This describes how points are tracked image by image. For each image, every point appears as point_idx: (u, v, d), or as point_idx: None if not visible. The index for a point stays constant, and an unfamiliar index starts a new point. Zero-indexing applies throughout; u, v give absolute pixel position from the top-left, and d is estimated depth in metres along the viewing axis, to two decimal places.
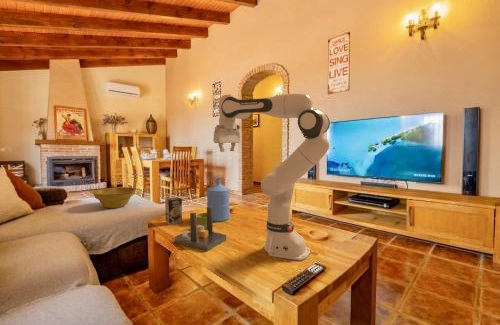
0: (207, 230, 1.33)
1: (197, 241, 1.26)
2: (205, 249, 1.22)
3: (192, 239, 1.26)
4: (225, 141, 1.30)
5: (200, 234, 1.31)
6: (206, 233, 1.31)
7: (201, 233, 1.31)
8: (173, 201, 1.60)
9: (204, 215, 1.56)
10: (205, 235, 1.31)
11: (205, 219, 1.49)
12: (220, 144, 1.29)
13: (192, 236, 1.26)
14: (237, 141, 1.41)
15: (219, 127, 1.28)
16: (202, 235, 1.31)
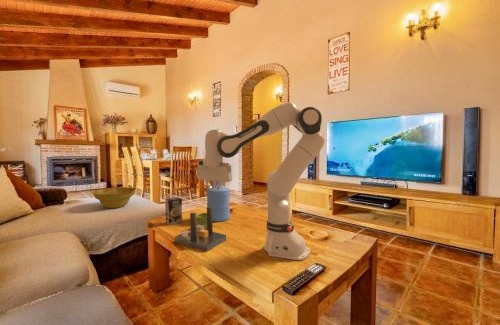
0: (207, 230, 1.33)
1: (197, 241, 1.26)
2: (205, 249, 1.22)
3: (192, 239, 1.26)
4: None
5: (200, 234, 1.31)
6: (206, 233, 1.31)
7: (201, 233, 1.31)
8: (173, 201, 1.60)
9: (204, 215, 1.56)
10: (205, 235, 1.31)
11: (205, 219, 1.49)
12: (222, 182, 1.24)
13: (192, 236, 1.26)
14: None
15: None
16: (202, 235, 1.31)
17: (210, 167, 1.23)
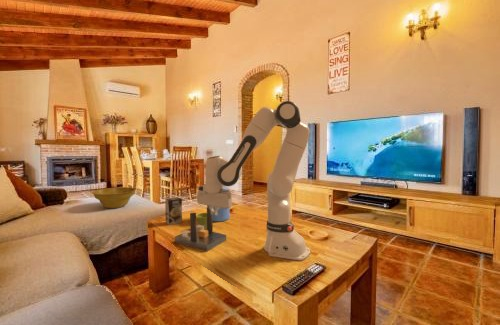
0: (207, 230, 1.33)
1: (197, 241, 1.26)
2: (205, 249, 1.22)
3: (192, 239, 1.26)
4: None
5: (200, 234, 1.31)
6: (206, 233, 1.31)
7: (201, 233, 1.31)
8: (173, 201, 1.60)
9: (204, 215, 1.56)
10: (205, 235, 1.31)
11: (205, 219, 1.49)
12: (218, 207, 1.26)
13: (192, 236, 1.26)
14: None
15: None
16: (202, 235, 1.31)
17: (210, 193, 1.24)
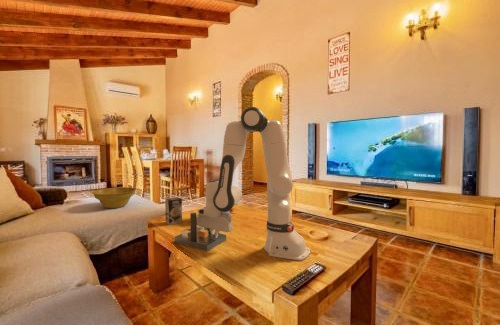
0: (207, 230, 1.33)
1: (197, 241, 1.26)
2: (205, 249, 1.22)
3: (192, 239, 1.26)
4: None
5: (200, 234, 1.31)
6: (206, 233, 1.31)
7: (201, 233, 1.31)
8: (173, 201, 1.60)
9: None
10: (205, 235, 1.31)
11: None
12: (218, 230, 1.27)
13: (192, 236, 1.26)
14: None
15: None
16: (202, 235, 1.31)
17: (211, 217, 1.25)
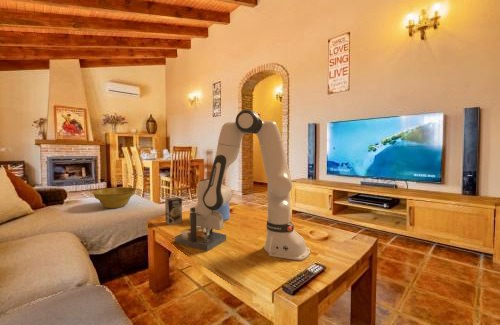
0: None
1: (197, 241, 1.26)
2: (205, 249, 1.22)
3: (192, 239, 1.26)
4: None
5: (198, 233, 1.32)
6: None
7: (199, 232, 1.32)
8: (173, 201, 1.60)
9: None
10: (203, 235, 1.31)
11: None
12: None
13: (192, 236, 1.26)
14: None
15: None
16: (200, 234, 1.32)
17: (202, 215, 1.27)
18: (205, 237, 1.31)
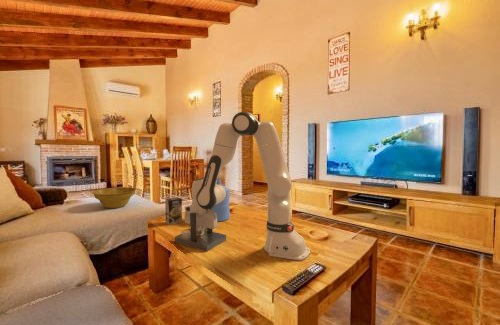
0: None
1: (197, 241, 1.26)
2: (205, 249, 1.22)
3: (192, 239, 1.26)
4: None
5: None
6: None
7: None
8: (173, 201, 1.60)
9: None
10: (197, 233, 1.33)
11: None
12: (204, 227, 1.32)
13: (192, 236, 1.26)
14: None
15: None
16: None
17: (196, 214, 1.29)
18: (205, 237, 1.31)
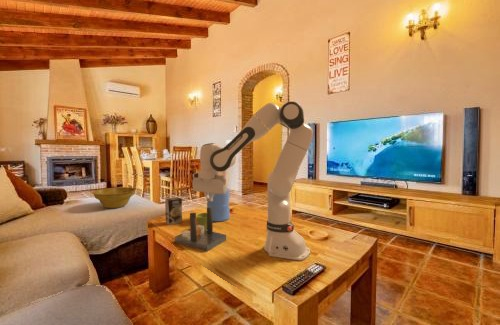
0: None
1: (197, 241, 1.26)
2: (205, 249, 1.22)
3: (192, 239, 1.26)
4: None
5: None
6: (198, 231, 1.34)
7: None
8: (173, 201, 1.60)
9: (204, 215, 1.56)
10: (197, 233, 1.33)
11: (205, 219, 1.49)
12: (213, 193, 1.29)
13: (192, 236, 1.26)
14: None
15: None
16: None
17: (205, 180, 1.26)
18: (205, 237, 1.31)
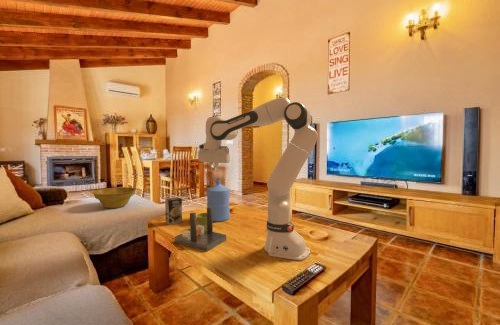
0: None
1: (197, 241, 1.26)
2: (205, 249, 1.22)
3: (192, 239, 1.26)
4: None
5: None
6: (198, 231, 1.34)
7: None
8: (173, 201, 1.60)
9: (204, 215, 1.56)
10: (197, 233, 1.33)
11: (205, 219, 1.49)
12: (217, 163, 1.40)
13: (192, 236, 1.26)
14: None
15: None
16: None
17: (210, 150, 1.37)
18: (205, 237, 1.31)
